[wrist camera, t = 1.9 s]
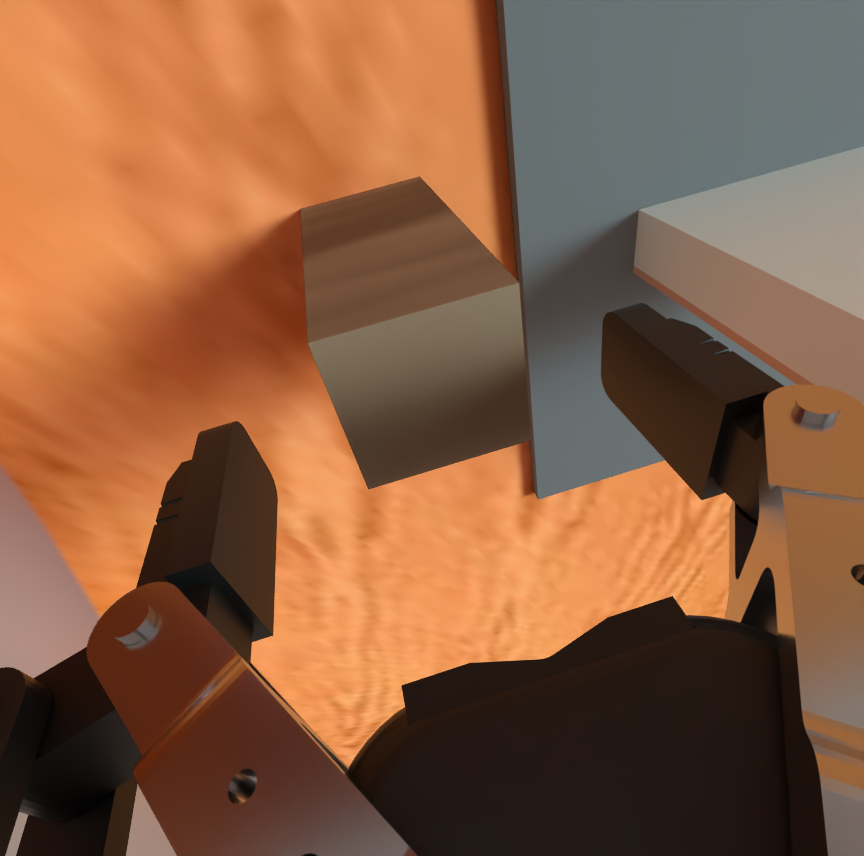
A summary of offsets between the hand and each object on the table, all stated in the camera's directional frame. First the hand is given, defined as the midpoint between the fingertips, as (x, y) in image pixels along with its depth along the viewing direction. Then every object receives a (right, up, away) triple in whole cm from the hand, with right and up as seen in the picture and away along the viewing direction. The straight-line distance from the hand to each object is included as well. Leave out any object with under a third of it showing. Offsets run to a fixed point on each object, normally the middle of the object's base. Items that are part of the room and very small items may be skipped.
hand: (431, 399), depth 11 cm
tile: (+12, +8, +8) cm, 16 cm away
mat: (+12, +7, +10) cm, 17 cm away
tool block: (-2, +5, +6) cm, 9 cm away
